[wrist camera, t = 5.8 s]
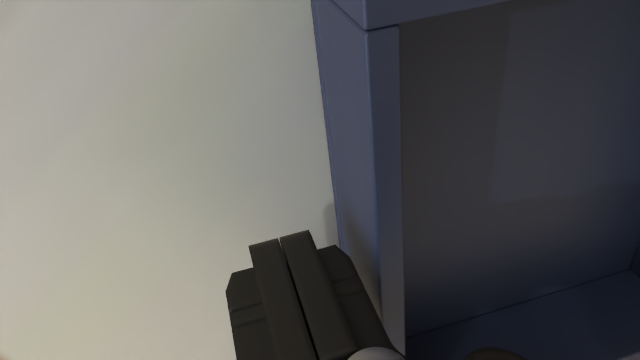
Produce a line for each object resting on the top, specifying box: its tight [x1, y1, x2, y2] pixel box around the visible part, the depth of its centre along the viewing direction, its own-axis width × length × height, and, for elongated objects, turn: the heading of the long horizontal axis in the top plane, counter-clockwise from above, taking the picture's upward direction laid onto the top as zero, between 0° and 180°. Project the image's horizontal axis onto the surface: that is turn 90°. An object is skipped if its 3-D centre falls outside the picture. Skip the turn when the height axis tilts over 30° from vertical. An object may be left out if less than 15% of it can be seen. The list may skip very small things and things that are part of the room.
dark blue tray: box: [311, 0, 640, 360], centre depth 13 cm, size 13×11×4 cm
